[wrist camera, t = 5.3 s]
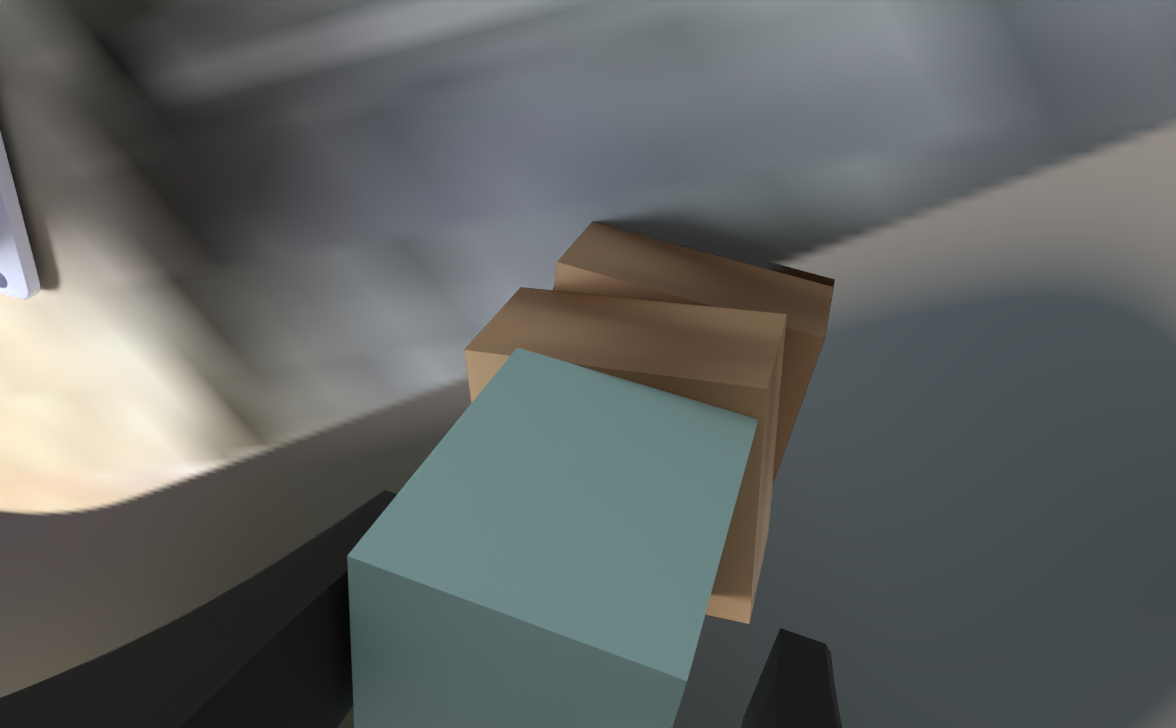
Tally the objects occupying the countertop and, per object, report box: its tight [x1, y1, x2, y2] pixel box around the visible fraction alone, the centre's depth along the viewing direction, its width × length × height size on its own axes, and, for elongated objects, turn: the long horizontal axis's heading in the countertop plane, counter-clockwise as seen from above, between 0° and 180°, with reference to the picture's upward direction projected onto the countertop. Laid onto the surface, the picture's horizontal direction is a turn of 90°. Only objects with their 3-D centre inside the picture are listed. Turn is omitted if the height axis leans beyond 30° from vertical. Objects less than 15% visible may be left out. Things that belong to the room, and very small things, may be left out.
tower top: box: [464, 287, 787, 624], centre depth 15 cm, size 5×5×2 cm
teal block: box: [347, 347, 758, 728], centre depth 12 cm, size 4×4×5 cm
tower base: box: [553, 222, 835, 485], centre depth 17 cm, size 5×5×2 cm
